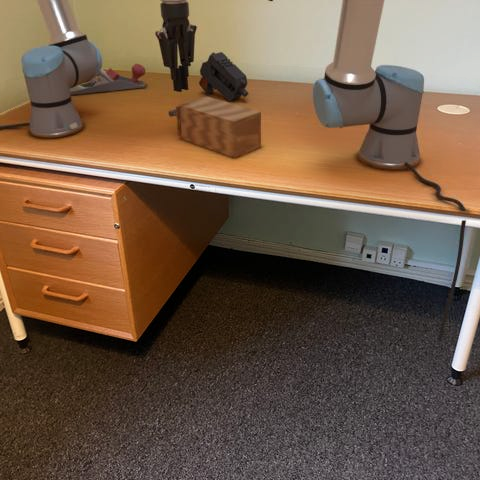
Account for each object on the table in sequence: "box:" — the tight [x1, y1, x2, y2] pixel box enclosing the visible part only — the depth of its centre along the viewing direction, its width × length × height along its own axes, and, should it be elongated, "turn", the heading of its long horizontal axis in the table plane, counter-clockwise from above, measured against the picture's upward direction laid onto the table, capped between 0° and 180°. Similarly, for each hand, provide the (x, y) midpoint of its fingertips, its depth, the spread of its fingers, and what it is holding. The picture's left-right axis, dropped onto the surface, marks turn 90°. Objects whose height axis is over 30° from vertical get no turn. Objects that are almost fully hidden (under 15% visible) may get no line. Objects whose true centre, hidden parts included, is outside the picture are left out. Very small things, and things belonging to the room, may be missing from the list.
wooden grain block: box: [178, 96, 262, 159], centre depth 148 cm, size 21×10×10 cm, turn 47°
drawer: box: [167, 104, 181, 135], centre depth 151 cm, size 26×9×8 cm, turn 47°
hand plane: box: [70, 63, 146, 96], centre depth 194 cm, size 7×31×15 cm, turn 107°
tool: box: [198, 51, 249, 102], centre depth 185 cm, size 6×19×15 cm, turn 51°
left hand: (181, 89), depth 153 cm, fingers closed
